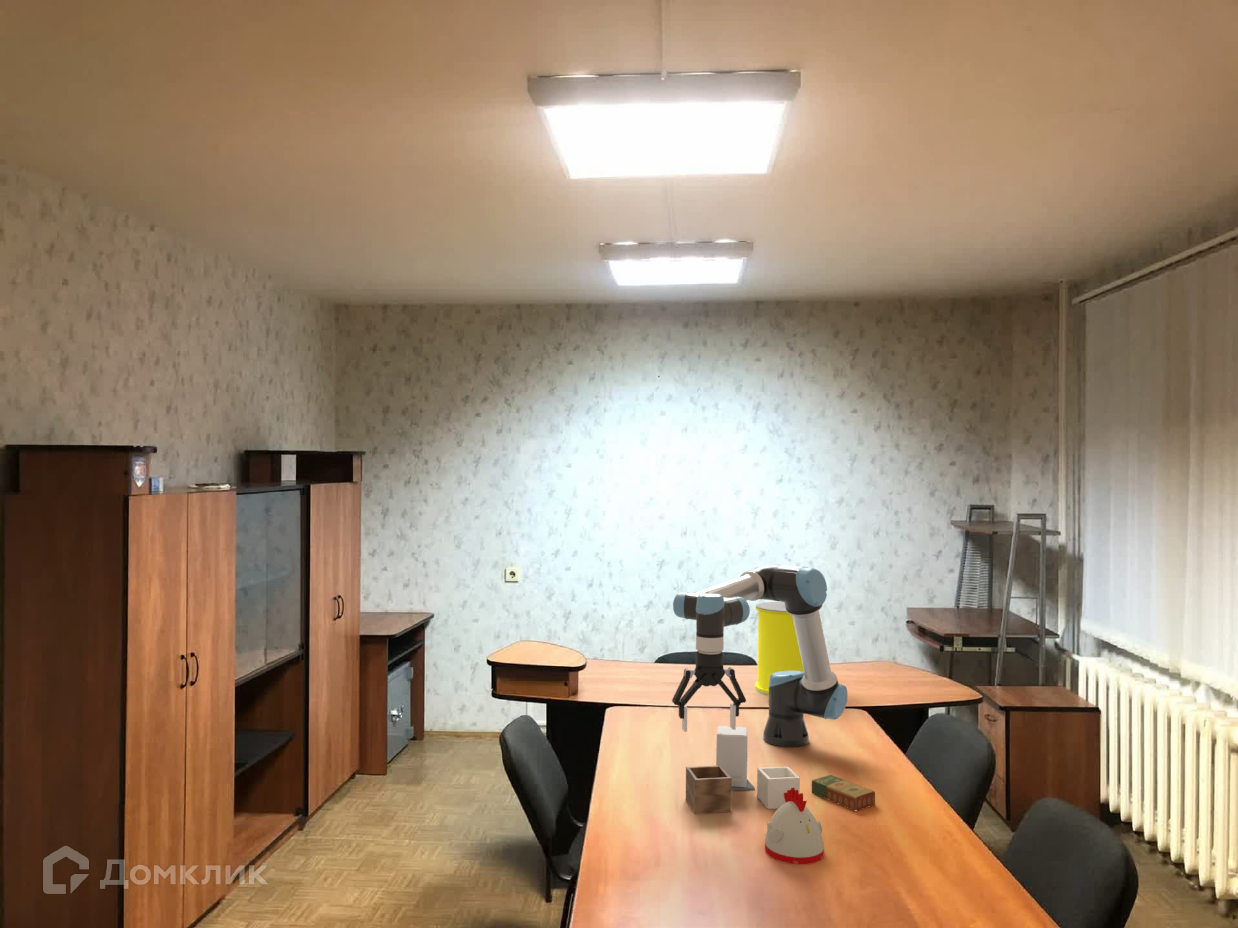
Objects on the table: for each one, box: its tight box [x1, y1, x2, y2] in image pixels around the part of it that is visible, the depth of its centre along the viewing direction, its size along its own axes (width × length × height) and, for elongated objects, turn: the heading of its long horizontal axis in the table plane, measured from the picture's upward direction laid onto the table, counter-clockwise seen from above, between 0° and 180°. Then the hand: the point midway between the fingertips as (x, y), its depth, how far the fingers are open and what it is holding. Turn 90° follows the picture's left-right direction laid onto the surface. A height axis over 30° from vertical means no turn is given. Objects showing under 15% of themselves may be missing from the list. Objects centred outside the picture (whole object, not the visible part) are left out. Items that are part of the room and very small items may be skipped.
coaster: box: [731, 779, 756, 792], centre depth 248 cm, size 11×11×1 cm
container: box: [754, 601, 805, 696], centre depth 359 cm, size 26×26×35 cm
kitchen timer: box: [764, 788, 825, 865], centre depth 204 cm, size 14×14×15 cm
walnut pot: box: [685, 765, 732, 815], centre depth 232 cm, size 10×10×9 cm
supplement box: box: [715, 725, 748, 788], centre depth 248 cm, size 9×9×15 cm
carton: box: [811, 774, 876, 811], centre depth 238 cm, size 8×16×4 cm, turn 35°
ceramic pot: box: [756, 766, 801, 810], centre depth 235 cm, size 9×9×8 cm
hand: (708, 729), depth 232 cm, fingers open, 13 cm apart
